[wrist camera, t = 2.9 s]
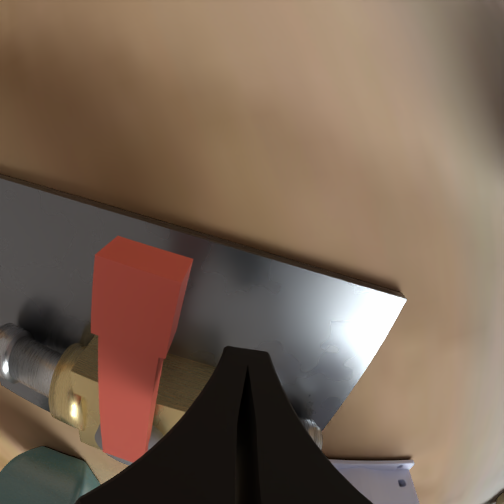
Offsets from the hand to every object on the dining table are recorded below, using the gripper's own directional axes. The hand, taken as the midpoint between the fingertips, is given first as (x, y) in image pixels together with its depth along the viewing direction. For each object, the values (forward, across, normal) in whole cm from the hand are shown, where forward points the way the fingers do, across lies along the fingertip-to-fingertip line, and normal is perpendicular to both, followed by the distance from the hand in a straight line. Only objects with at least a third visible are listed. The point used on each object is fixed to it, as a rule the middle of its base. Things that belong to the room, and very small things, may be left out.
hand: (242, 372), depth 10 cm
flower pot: (+5, +13, +22) cm, 26 cm away
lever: (+1, +4, +2) cm, 4 cm away
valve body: (+4, +5, +5) cm, 8 cm away
